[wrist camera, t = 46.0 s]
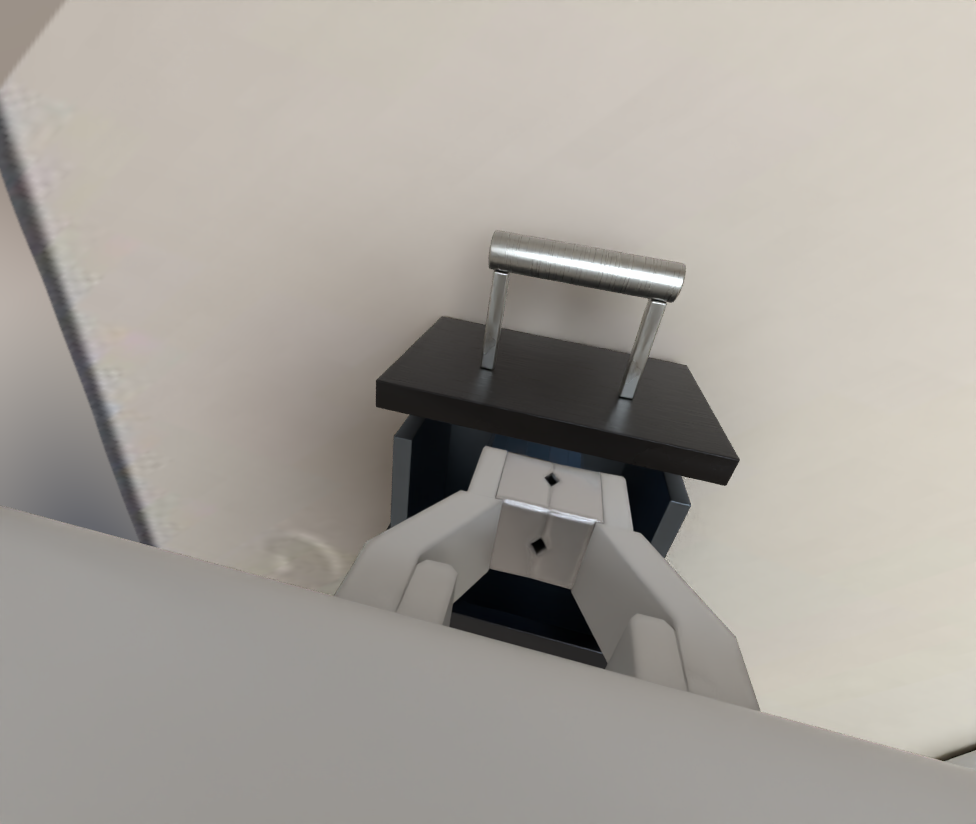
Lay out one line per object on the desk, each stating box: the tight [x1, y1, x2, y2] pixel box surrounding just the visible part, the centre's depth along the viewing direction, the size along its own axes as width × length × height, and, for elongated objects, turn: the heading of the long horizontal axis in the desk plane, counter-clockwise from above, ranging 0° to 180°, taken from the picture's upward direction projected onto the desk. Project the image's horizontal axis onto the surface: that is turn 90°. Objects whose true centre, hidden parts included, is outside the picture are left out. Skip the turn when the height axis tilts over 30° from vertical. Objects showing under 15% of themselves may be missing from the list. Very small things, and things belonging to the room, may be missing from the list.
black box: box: [387, 523, 608, 669], centre depth 29 cm, size 16×15×11 cm
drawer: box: [376, 230, 740, 635], centre depth 22 cm, size 20×13×9 cm
